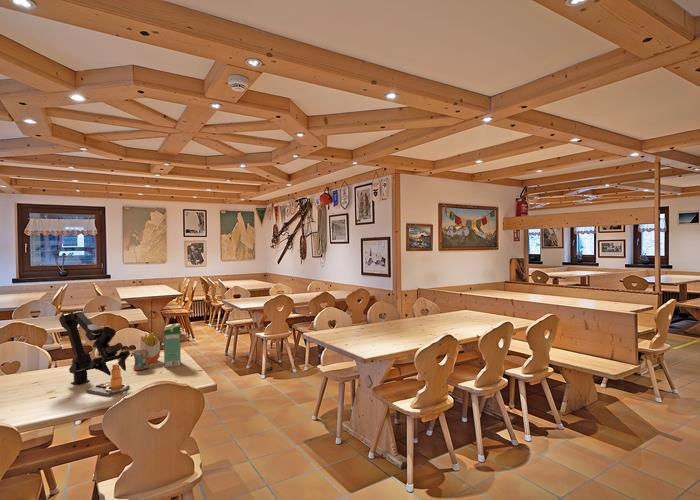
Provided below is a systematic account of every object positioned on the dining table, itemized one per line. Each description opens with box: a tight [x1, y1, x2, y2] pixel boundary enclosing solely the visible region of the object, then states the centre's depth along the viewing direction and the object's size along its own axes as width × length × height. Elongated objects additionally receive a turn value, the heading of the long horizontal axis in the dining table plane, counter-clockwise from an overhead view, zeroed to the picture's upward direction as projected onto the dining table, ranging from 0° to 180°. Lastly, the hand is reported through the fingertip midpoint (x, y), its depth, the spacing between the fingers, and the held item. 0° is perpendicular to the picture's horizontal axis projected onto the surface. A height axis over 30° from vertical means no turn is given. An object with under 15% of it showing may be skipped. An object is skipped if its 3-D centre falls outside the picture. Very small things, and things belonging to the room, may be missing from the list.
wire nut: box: [110, 364, 123, 390], centre depth 210 cm, size 5×5×12 cm
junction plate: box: [85, 381, 131, 397], centre depth 211 cm, size 18×12×2 cm, turn 68°
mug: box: [131, 349, 151, 371], centre depth 247 cm, size 12×9×11 cm
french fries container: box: [139, 332, 161, 365], centre depth 261 cm, size 5×11×18 cm, turn 156°
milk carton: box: [163, 322, 182, 368], centre depth 255 cm, size 9×9×25 cm
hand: (118, 372), depth 209 cm, fingers open, 8 cm apart
